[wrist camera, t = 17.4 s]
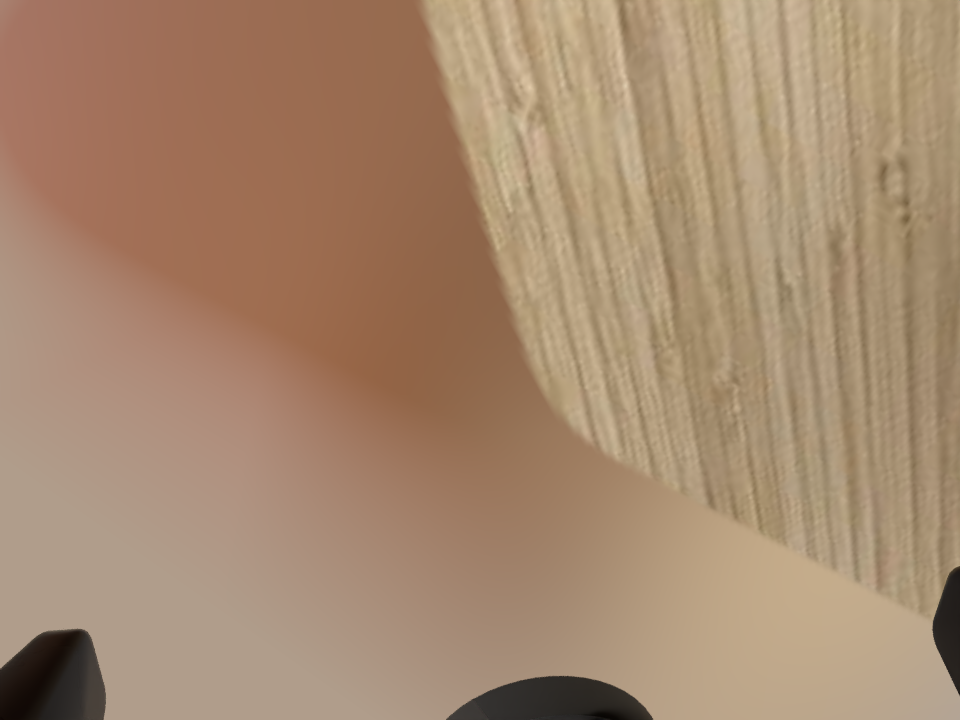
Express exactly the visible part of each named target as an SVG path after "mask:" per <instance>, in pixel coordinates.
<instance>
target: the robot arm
mask: <svg viewBox="0 0 960 720" xmlns="http://www.w3.org/2000/svg"><path fill="white" fill-rule="evenodd" d="M933 637H934V640H935V644H936V646H937V649H938V651H939V653H940V655H941V657H942V659H943V662H944V664H945V666H946V668H947V670H948V672H949V674H950V676H951V678H952V681H953V683H954V685H955V687H956V689H957V691H958V693H959V695H960V566H959V567H956V568H954V569H953V570H952V571H951V572H950V574H949V576H948V578H947V581H946V584H945V587H944V590H943V593H942V596H941V599H940V602H939V605H938V608H937V611H936V614H935V617H934V620H933ZM105 704H106V693H105V686H104V682H103V679H102V675H101V671H100V668H99V664H98V661H97V657H96V653H95V649H94V646H93V642H92V639H91V637H90V635H89V634H88V632H87V631H85V630H82V629H71V630H57V631H47V632H43V633H41V634H40V635H38V636H37V637H35V638H34V639H33V640H32V641H31V642H30V643H28V644H27V645H26V646H25V647H24V648H23V649H22V650H21V651H20V652H18V654H16V655H15V656H14V657H13V658H12V659H11V660H10V661H9V662H7V663H6V664H5V665H4V666H3V667H2V668H1V669H0V720H103V719H104V713H105ZM591 720H606V719H603V718H595V719H591Z"/></svg>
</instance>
